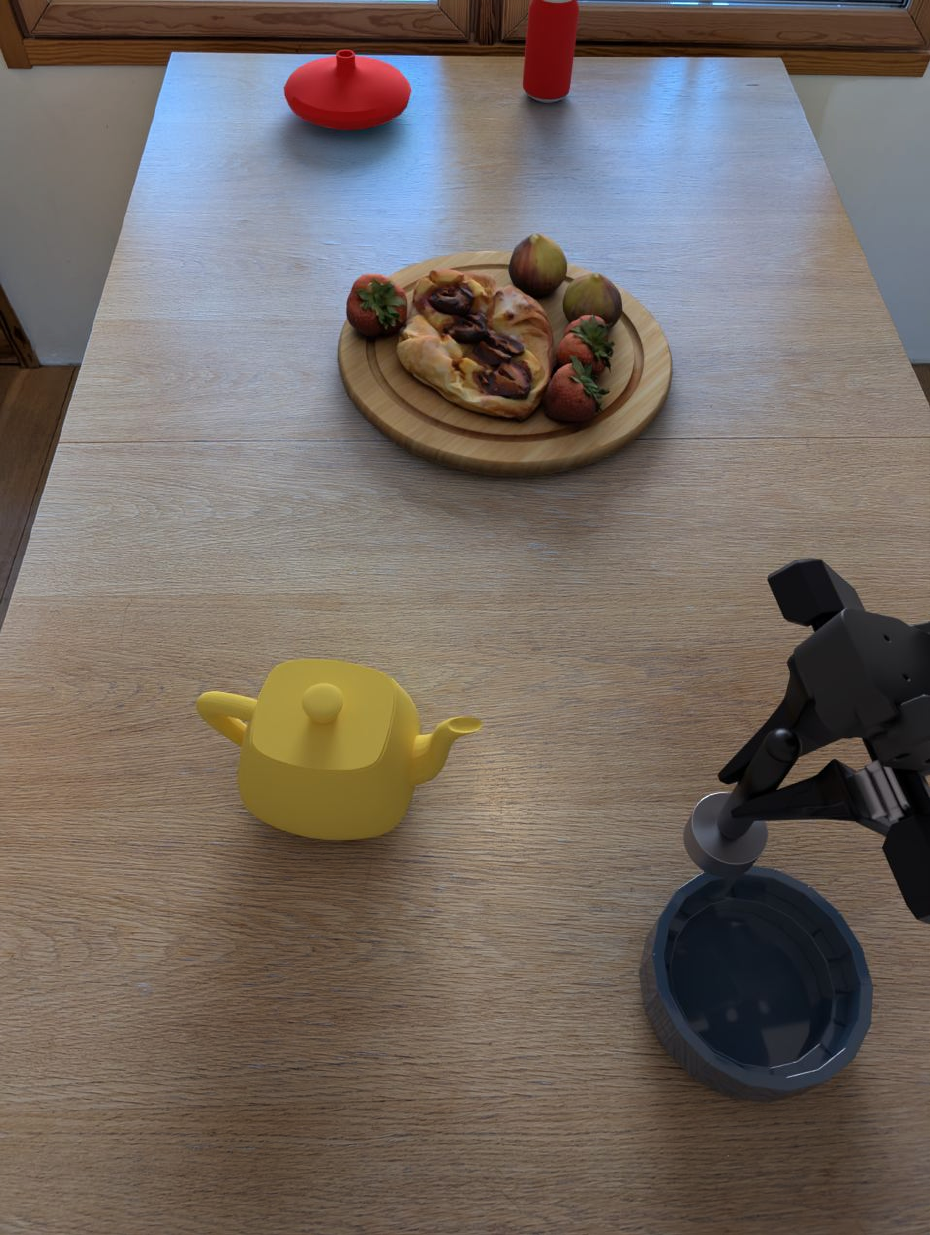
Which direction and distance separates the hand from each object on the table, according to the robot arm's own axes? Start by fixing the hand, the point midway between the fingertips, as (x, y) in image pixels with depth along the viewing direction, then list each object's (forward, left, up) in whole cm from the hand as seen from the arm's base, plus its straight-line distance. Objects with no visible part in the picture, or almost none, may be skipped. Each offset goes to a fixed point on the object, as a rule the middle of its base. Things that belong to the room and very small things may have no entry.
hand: (727, 797), depth 50 cm
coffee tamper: (-1, -1, -7) cm, 7 cm away
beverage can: (+35, -100, -14) cm, 107 cm away
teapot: (+23, 0, -14) cm, 27 cm away
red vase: (+57, -86, -14) cm, 104 cm away
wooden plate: (+25, -46, -14) cm, 54 cm away
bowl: (-5, +5, -13) cm, 15 cm away
